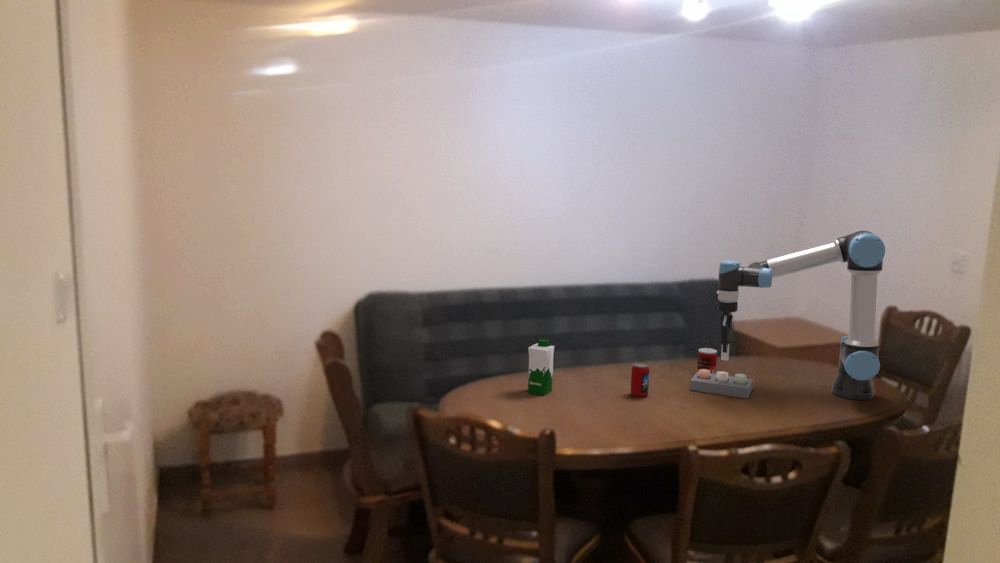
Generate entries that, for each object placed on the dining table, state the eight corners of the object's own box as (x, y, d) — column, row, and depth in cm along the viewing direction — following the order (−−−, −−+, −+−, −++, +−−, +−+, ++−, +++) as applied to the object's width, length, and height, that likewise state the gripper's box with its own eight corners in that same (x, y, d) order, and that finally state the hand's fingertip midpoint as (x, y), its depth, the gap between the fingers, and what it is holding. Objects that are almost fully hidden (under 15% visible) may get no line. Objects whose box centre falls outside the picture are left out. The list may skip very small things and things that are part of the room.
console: (752, 388, 308) (753, 379, 307) (747, 398, 295) (748, 388, 295) (696, 381, 317) (697, 371, 316) (689, 390, 304) (690, 380, 304)
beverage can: (648, 398, 293) (649, 367, 291) (630, 397, 294) (631, 366, 292) (648, 393, 299) (650, 363, 297) (630, 391, 301) (632, 361, 299)
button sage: (746, 387, 304) (747, 374, 303) (745, 390, 300) (746, 377, 299) (735, 385, 306) (735, 373, 305) (733, 388, 302) (734, 375, 301)
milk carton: (555, 390, 300) (556, 340, 296) (545, 397, 292) (547, 345, 288) (534, 387, 304) (536, 337, 300) (524, 393, 296) (525, 342, 292)
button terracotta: (710, 381, 310) (711, 369, 309) (708, 384, 306) (709, 372, 305) (699, 380, 312) (699, 368, 311) (697, 383, 308) (697, 371, 307)
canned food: (713, 373, 329) (715, 348, 327) (717, 378, 321) (718, 353, 319) (695, 372, 329) (697, 347, 328) (698, 377, 321) (699, 352, 320)
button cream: (728, 384, 307) (729, 372, 306) (726, 387, 303) (727, 375, 302) (716, 382, 309) (717, 370, 308) (715, 385, 305) (715, 373, 304)
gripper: (720, 297, 308) (717, 355, 311) (714, 302, 296) (712, 362, 300) (740, 298, 304) (737, 357, 308) (735, 304, 293) (732, 364, 297)
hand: (724, 359), depth 304 cm, fingers closed
